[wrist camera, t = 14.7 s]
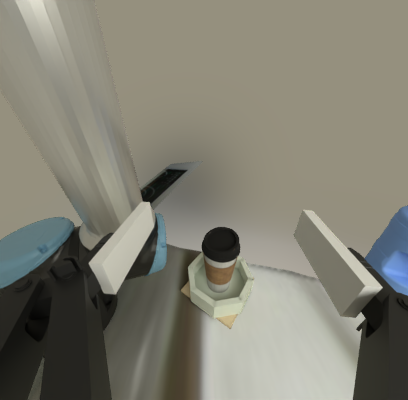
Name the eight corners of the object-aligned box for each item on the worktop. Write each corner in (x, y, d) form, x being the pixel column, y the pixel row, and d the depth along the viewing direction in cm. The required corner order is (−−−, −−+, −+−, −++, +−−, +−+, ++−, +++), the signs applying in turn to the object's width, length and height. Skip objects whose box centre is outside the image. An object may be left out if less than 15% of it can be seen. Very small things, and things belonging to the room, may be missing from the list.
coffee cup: (241, 281, 42) (249, 237, 34) (220, 306, 36) (225, 260, 29) (216, 262, 47) (218, 221, 39) (195, 282, 41) (193, 238, 34)
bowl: (177, 292, 41) (175, 279, 38) (210, 253, 52) (210, 242, 49) (231, 334, 33) (234, 322, 31) (257, 278, 44) (260, 266, 42)
